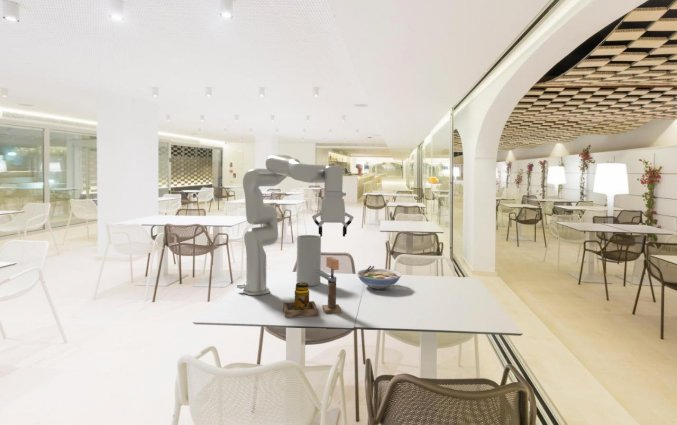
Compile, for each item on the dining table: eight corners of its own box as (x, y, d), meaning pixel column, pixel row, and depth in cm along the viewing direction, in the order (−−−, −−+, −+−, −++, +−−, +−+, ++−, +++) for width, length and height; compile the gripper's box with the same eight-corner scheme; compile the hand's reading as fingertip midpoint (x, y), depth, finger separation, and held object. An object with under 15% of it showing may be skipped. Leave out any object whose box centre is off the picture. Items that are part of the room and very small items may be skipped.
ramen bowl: (395, 296, 208) (396, 279, 207) (350, 291, 215) (350, 275, 214) (404, 283, 231) (405, 268, 230) (363, 279, 238) (364, 265, 238)
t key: (312, 273, 198) (312, 251, 197) (319, 272, 199) (320, 251, 199) (332, 284, 179) (332, 260, 178) (340, 283, 180) (340, 260, 179)
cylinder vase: (324, 282, 230) (325, 236, 228) (311, 288, 220) (311, 239, 217) (306, 279, 237) (306, 234, 235) (291, 284, 226) (292, 237, 224)
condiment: (306, 315, 177) (306, 286, 176) (287, 312, 179) (287, 284, 178) (312, 309, 184) (312, 282, 183) (294, 307, 186) (294, 280, 185)
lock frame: (284, 317, 174) (285, 287, 173) (283, 308, 186) (283, 280, 185) (342, 314, 179) (343, 285, 178) (337, 305, 191) (337, 278, 190)
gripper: (352, 195, 184) (351, 235, 186) (312, 194, 183) (311, 234, 184) (355, 196, 177) (354, 237, 178) (312, 195, 175) (312, 237, 177)
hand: (332, 236), depth 181 cm, fingers open, 9 cm apart
